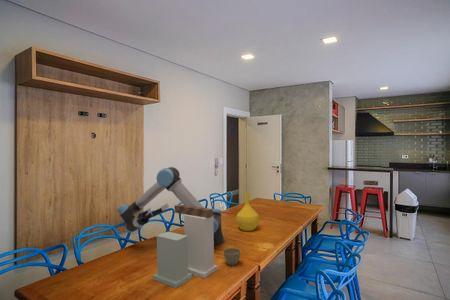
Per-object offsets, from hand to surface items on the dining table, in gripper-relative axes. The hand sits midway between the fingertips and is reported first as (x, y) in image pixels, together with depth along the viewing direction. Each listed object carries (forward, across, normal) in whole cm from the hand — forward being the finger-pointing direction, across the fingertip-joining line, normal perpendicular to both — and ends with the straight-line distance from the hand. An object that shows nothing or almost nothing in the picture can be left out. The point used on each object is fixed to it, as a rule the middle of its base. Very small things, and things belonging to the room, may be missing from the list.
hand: (159, 207), depth 167 cm
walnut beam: (+26, +3, -15) cm, 30 cm away
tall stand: (+14, +3, -43) cm, 46 cm away
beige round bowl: (+24, -13, -49) cm, 56 cm away
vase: (+3, -74, -37) cm, 83 cm away
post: (+10, +18, -40) cm, 45 cm away
